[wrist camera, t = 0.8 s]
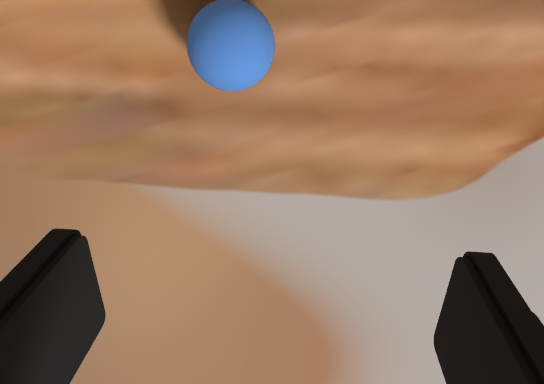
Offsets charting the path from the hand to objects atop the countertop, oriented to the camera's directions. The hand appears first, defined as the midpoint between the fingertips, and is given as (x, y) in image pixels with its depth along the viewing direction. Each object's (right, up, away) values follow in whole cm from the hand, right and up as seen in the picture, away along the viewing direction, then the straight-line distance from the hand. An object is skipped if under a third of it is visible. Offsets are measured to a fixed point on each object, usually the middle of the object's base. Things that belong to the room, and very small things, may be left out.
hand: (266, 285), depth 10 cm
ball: (-3, +12, +18) cm, 22 cm away
